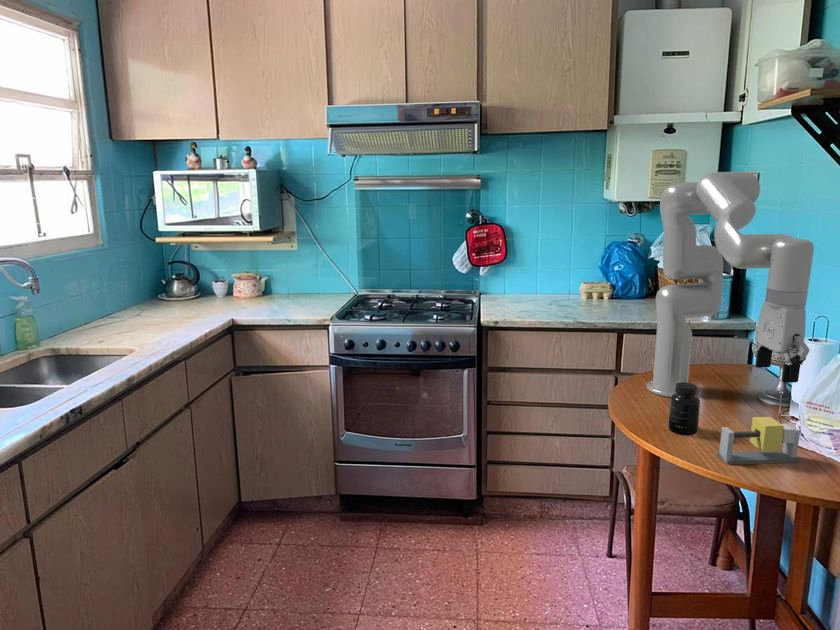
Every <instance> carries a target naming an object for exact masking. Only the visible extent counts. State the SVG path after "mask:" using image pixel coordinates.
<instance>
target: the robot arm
mask: <svg viewBox="0 0 840 630" xmlns="http://www.w3.org/2000/svg"><path fill="white" fill-rule="evenodd" d="M760 193H761V185H760V181H759V179H758V178H757V177H756V176H755V175H754V174H753V173H752V172H748V171H718V172H715V171H714V172H711V173H708V174H706V175H704V176H702V177H701V178H700V179H699V181H698V182H697V181H696V182H695V181H694V182H689V181H688V182H680V183H674V184H671V185H669V186H667V187H666V188H665V189H664V191H663V192H662V194H661V197H660V201H659V202H660V203H659V213H660V216H661V217H660V218H661V222H662V227H663V245H662V247H663V248H662V249H663V250H662V270H663V271H662V272H663V274H664V276H665V277H666V278H668V279H671V280H698V283H675V284H673V283H672V284H668V285H664V286H662V287H661V288H660V289H659V290H657V292H656V295H655V309H656V337H655V351H654V364H653V371H652V375H653V376H652V377H653V378H652V380H650V381H649V382H647V384H646V389H647V390H648V392H649V391H650V392H651V393H653V394H656V395H657V396H661V397H669V398H671V396H672V395H673V394H674V393H676V392H675V388H676V384H677V383H681V382H685V383H689V375H690V363H691V353H692V345H693V344H692V341H693V332H692V328H691V327H690V326H689V324H688V322H687V321H686V319H687V318H704V317H707V318H708V317H712V316H715V315H716V314H717V313H718V312H719V311H720V310H721V309H720V308H721V304H722V300H723V299H722V297H723V282H724V281H723V280H724V260H725V261H726V262H727V263H728V264H729V265H730V266H732V267H733V268H736V269H740V270H741V269H742V270H743V269H744V270H745V269H747V270H749V269H750V270H752V269H753V270H754V269H768V276H767V283H766V284H767V285H766V291H765V292H766V293H765V299H764V301H763V302H762V306H761V308H760V309H761V310H760V313H759V317H758V322H757V326H756V327H755V328H754V332H755V333H754V334H755V341H756V345H755V347H756V349H757V350H756V356H755V357H756V359H755V363H754V364H755V365H754V366H755V367H756V368H760V369H761V368H770V367H771V365H772V358H773V352H774V353H776V354H780V355H781V354H783V356H784V359H785V363H783V368H782V376H781V377H782V378H781V382H783V383H787V384H789V383H791V384H792V383H798V382H799V377H800V371H801V366H802V365H803V364H804V362H805V361H807V356H808V354H809V353H810V347H808V345H807V344H806V342H805V338H806V337H805V336H806V324H807V323H806V319H807V318H806V317H807V315H806V307H807V300H808V293H809V287H810V279H811V271H812V266H813V258H814V250H815V246H814V243H813V242H812V241H811V240H808V239H804V238H795V237H793V236H791V235H789V234H785V233H755V234H753V233H750V234H743V233H741V231H739V230H741V229H743V228H745V227H746V226H748V224H750V223H751V222H752V220H753V219H754V217H755V215H756V211H757V209H756V204H755V202H756V201H757V200H758V198H759V197H760ZM689 215H711V216H712V217H713V218H714V219H715V220H716V224H715V228H714V236H713V237H714V244H715V246H714V245H709V244H708V245H707V244H702V245H701V244H699V245H697V228H696V225H695V224H694V222H693V220H692V218H691V217H690V216H689ZM791 355H793V357H791Z"/></svg>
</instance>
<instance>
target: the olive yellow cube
mask: <svg viewBox="0 0 840 630" xmlns="http://www.w3.org/2000/svg"><path fill="white" fill-rule="evenodd" d="M782 424H783V423H780V422H779V421H777V420H775V418H773V417H771V416H753V417H752V420H751V428H750V430H751V431H760V432H761V433H760V437H750V438H749V442H750V444H752V445H753V446H754V447H756V448H757V449H759V451H762V452H767V451H780V450H781V448H782V434H783V427H784V426H783V425H782Z"/></svg>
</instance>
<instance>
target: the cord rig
mask: <svg viewBox="0 0 840 630" xmlns="http://www.w3.org/2000/svg"><path fill="white" fill-rule="evenodd" d="M781 424H782V425H783V426H784V427H783V434H782V442H781V444H783V449H782V450H781V449H780V451H767V452H762V451H761V450H749V451H747V450H746V451H743V450H742V451H733V448H734V441H735V440H734V439H736V438H737V439H743V438H745V439H748V438H749V439H750V437H760V433H761V432H760V431H746V430H745V431H733V430H731V429H730V428H729V427H726V426H725V427H724V426H722V427H721V434H720V443H719V444H720V445H719V450H718V452H717V454H716V455H717V456H718V458H720V460H721V461H723V463H725V464H726V465H755V464H783V463H784V464H785V463H789V464H790V463H799V458H798V457H797V456H798V450H799V449H798V448H799V443H800V437H801V436H800V434H801V430H799V428H797V427H795V426H793V425H792V424H791V425H789V424H788V423H781Z"/></svg>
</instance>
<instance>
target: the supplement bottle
mask: <svg viewBox="0 0 840 630" xmlns="http://www.w3.org/2000/svg"><path fill="white" fill-rule="evenodd" d="M697 388H698V387H697V385H696V384H694V383H691V382H688V383H685V382H681V383H677V384H676V388H675V392H676V393H674V394H673V395H672V396H671V397H669V398H670V399H669V411H668V430H669V431H670V432H671V433H673V434H676V435H679V436H685V437H686V436H687V437H688V436H693V435H695V434H697V433H698V431H699V419H700V418H699V417H700V408H701V407H700V406H701V399H700V398H699V397H698V395H697V392H698V391H697V390H698V389H697Z"/></svg>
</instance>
